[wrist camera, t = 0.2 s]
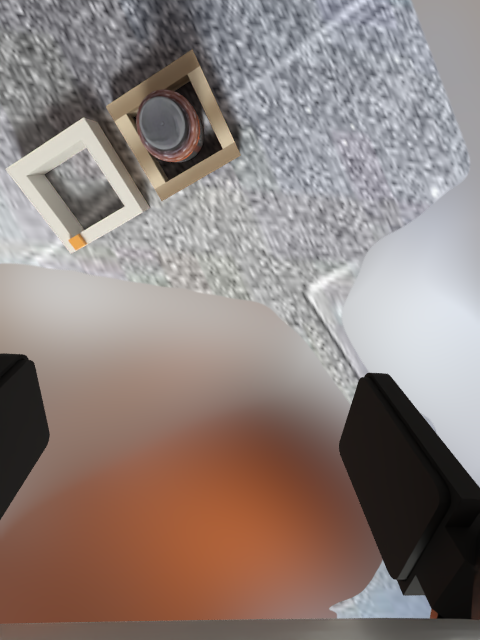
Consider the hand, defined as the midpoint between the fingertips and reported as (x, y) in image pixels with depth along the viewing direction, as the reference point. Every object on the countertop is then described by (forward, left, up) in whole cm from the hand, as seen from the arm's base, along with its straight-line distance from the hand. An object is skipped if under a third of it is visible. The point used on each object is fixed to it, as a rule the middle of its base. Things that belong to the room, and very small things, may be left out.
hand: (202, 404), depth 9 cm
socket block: (-11, -12, -36) cm, 40 cm away
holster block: (-11, +1, -36) cm, 38 cm away
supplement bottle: (-10, +1, -37) cm, 38 cm away
